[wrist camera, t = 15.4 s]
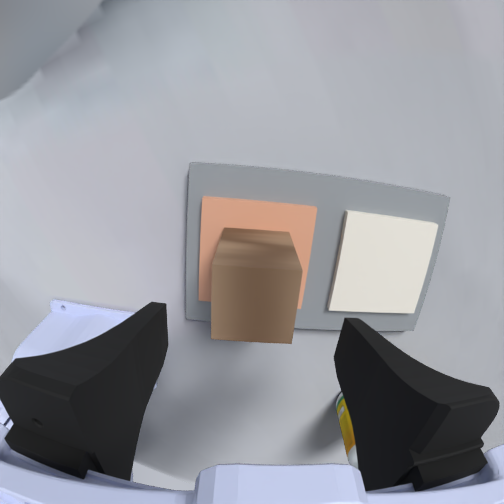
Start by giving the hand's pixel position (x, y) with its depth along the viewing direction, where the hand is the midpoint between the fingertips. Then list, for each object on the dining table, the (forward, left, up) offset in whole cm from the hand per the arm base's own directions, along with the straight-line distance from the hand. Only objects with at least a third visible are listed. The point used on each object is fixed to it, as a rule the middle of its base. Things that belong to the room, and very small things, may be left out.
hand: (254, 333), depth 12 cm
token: (0, 0, -8) cm, 8 cm away
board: (+5, 0, -10) cm, 11 cm away
